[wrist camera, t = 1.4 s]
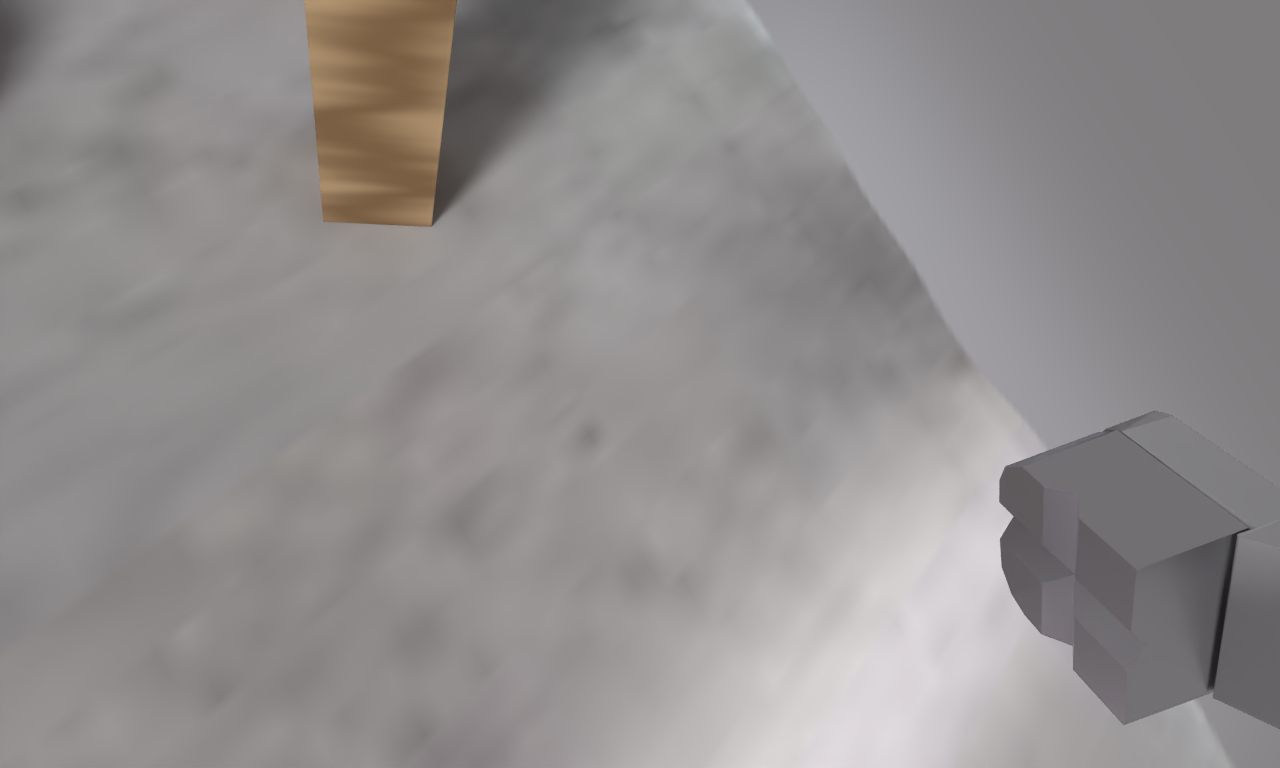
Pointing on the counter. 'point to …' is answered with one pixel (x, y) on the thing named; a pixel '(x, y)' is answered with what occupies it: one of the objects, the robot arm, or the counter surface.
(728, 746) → the counter surface
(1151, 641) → the robot arm
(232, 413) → the counter surface
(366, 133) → the wooden rod
